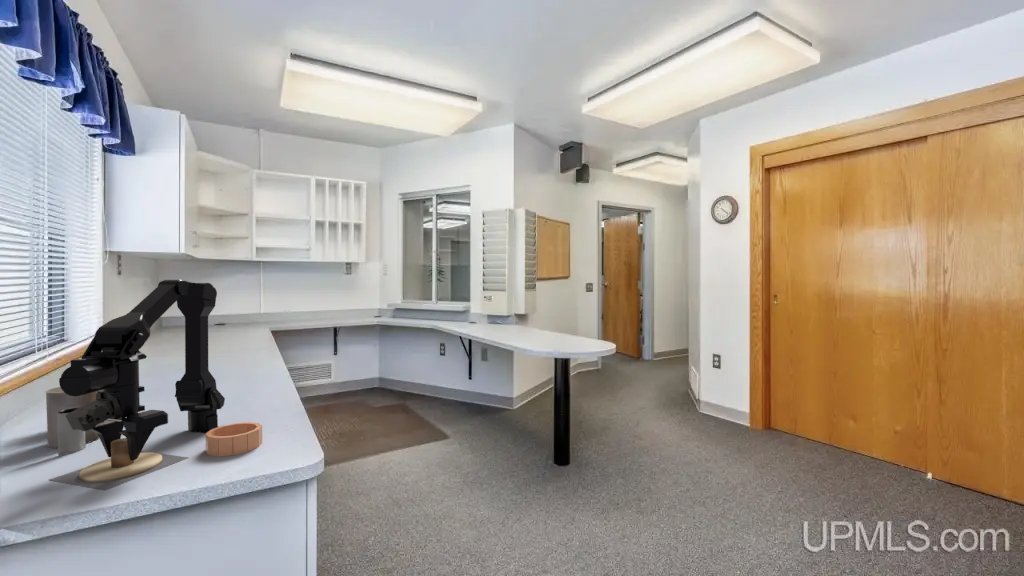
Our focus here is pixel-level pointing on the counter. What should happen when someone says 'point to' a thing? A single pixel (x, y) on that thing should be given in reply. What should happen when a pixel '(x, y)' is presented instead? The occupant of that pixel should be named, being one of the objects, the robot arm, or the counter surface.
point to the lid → (120, 464)
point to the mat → (105, 485)
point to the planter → (69, 435)
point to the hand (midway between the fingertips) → (122, 458)
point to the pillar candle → (62, 401)
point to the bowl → (233, 438)
